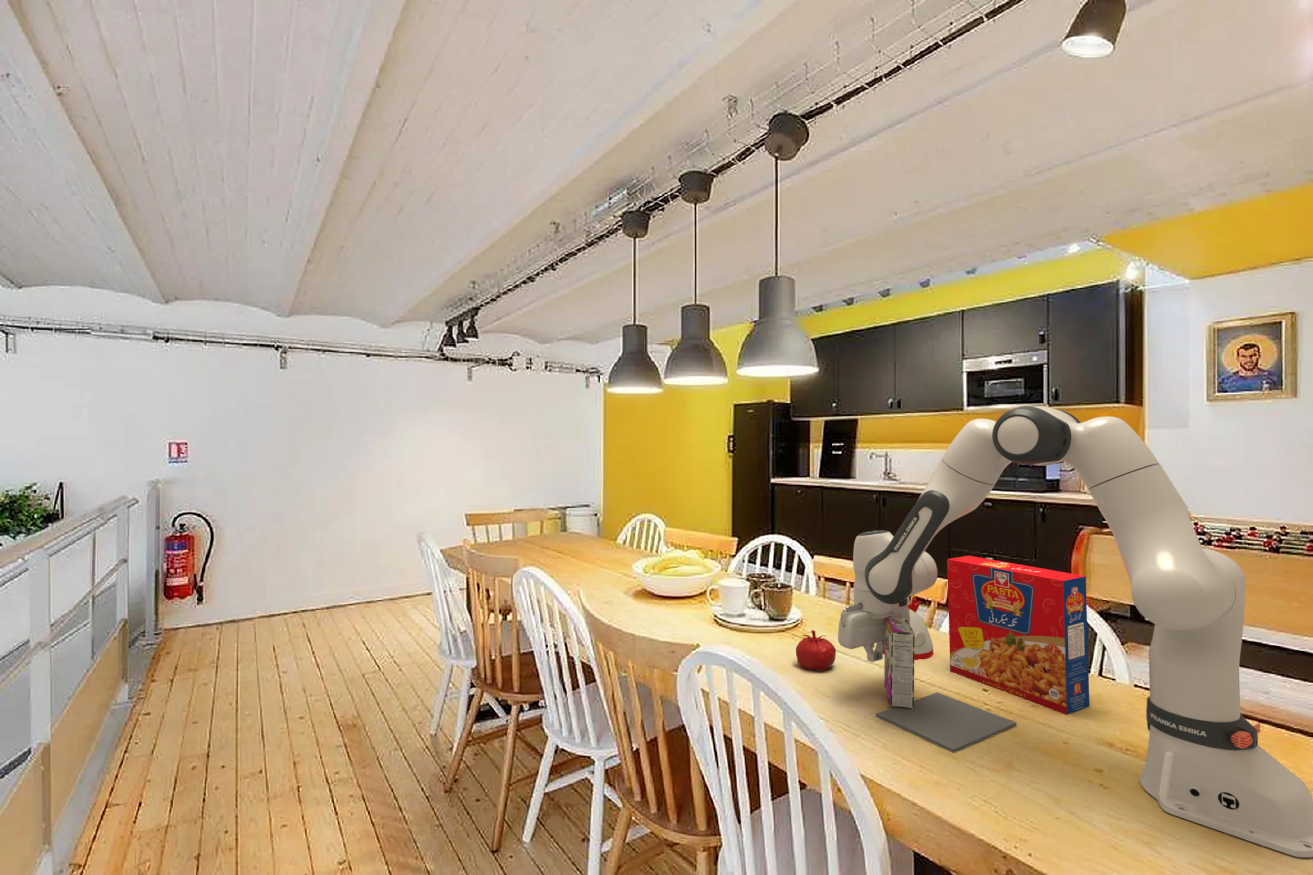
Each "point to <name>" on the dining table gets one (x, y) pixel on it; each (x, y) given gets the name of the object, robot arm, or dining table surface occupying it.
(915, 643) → the kitchen timer
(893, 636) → the candy bar box
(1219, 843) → the dining table surface
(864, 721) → the dining table surface
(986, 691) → the dining table surface
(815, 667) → the pomegranate
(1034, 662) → the pasta box
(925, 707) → the rubber mat
